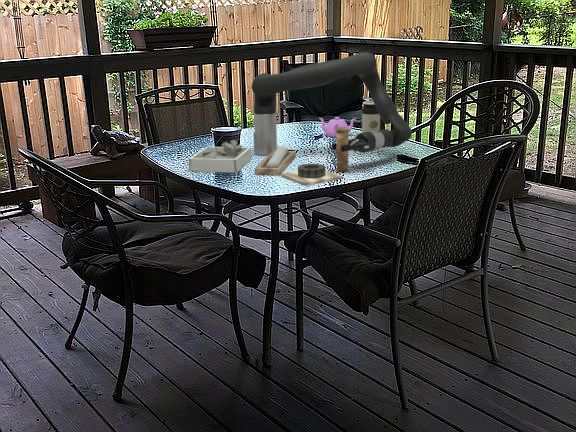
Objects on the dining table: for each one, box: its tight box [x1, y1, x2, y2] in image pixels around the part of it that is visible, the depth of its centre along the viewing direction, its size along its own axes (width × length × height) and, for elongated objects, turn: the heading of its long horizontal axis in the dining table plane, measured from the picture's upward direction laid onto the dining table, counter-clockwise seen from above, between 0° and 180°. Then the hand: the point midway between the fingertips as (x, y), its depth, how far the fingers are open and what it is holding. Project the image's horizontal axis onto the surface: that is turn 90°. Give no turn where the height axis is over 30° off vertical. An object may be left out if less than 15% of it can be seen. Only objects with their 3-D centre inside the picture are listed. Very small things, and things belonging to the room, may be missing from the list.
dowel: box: [335, 127, 350, 173], centre depth 246 cm, size 4×4×16 cm
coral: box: [201, 139, 243, 159], centre depth 260 cm, size 17×14×10 cm
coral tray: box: [187, 146, 252, 174], centre depth 262 cm, size 19×22×5 cm
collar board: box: [280, 163, 343, 186], centre depth 240 cm, size 16×16×4 cm
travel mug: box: [361, 100, 381, 133], centre depth 294 cm, size 8×8×18 cm
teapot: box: [318, 116, 357, 138], centre depth 313 cm, size 12×14×9 cm
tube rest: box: [254, 150, 297, 176], centre depth 259 cm, size 10×31×2 cm, turn 168°
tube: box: [266, 145, 289, 168], centre depth 259 cm, size 5×5×25 cm
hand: (337, 147), depth 244 cm, fingers closed on dowel, 4 cm apart
